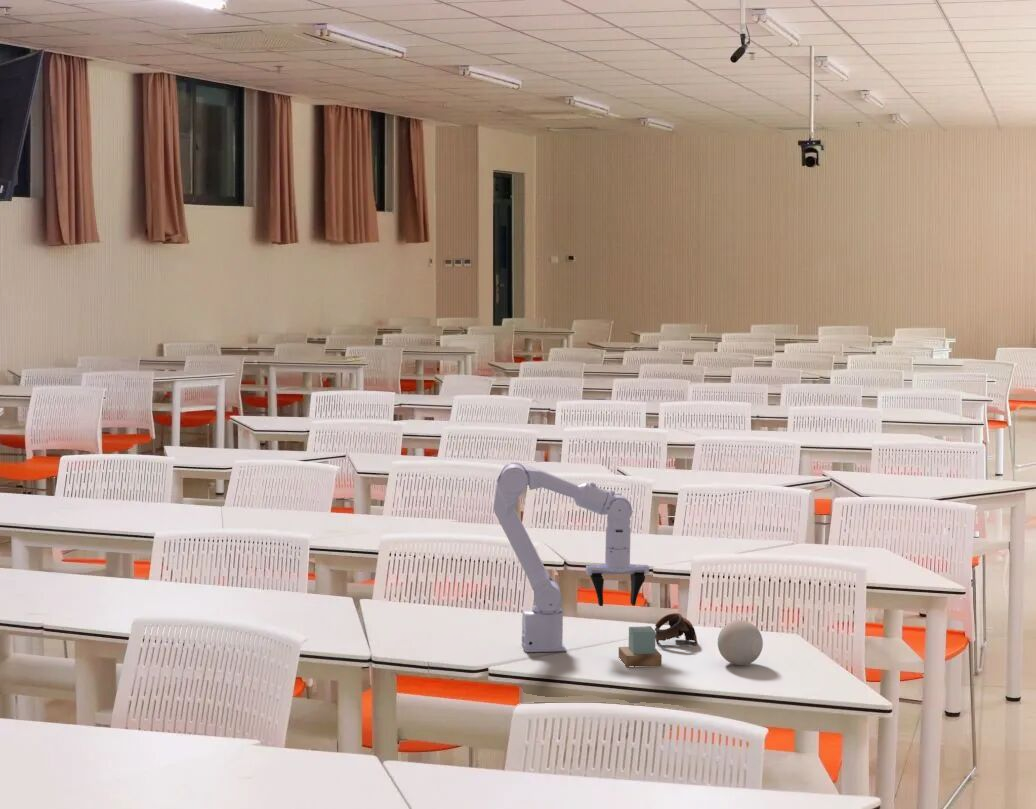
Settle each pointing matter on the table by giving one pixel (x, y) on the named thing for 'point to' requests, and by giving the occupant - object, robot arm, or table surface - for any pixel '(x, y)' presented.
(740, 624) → the grey sphere
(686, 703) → the table surface
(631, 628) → the cube
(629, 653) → the slab
